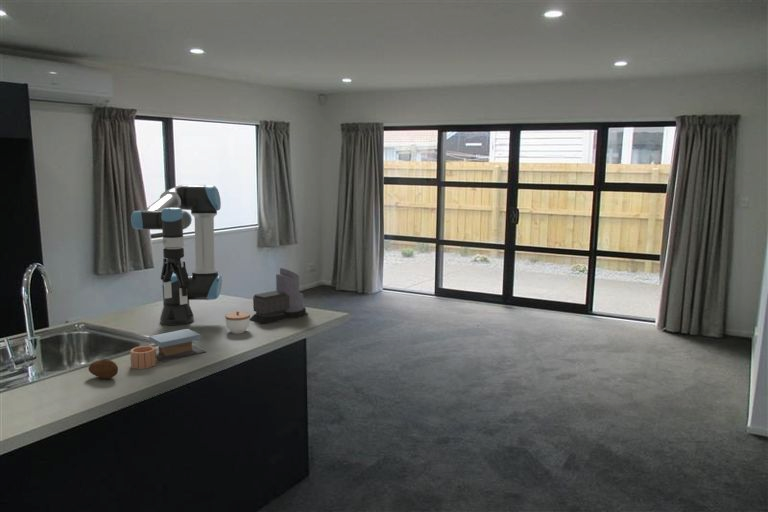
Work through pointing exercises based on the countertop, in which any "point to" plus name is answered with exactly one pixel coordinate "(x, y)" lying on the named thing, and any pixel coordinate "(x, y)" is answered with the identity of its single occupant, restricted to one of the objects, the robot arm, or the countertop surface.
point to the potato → (103, 368)
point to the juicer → (280, 300)
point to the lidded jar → (237, 321)
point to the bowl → (143, 357)
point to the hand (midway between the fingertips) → (175, 301)
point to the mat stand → (177, 351)
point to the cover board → (174, 338)
